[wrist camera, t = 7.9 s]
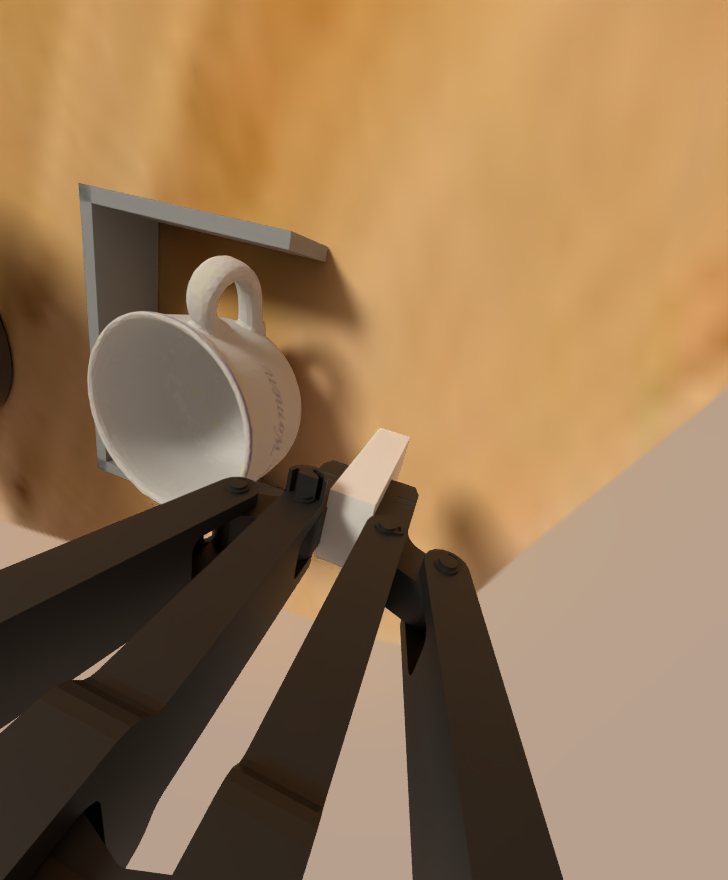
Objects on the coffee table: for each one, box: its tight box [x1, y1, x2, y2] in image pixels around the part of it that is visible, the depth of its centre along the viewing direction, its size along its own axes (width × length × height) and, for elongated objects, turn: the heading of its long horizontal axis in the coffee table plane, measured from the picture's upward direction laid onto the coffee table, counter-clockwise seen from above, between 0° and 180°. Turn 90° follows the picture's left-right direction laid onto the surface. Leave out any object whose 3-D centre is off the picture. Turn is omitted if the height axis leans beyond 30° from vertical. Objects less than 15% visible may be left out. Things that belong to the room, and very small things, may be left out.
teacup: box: [87, 255, 301, 504], centre depth 21 cm, size 14×11×8 cm
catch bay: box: [79, 183, 328, 496], centre depth 24 cm, size 13×18×4 cm
